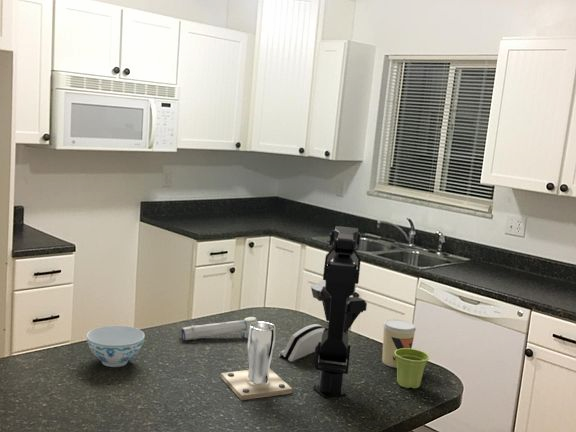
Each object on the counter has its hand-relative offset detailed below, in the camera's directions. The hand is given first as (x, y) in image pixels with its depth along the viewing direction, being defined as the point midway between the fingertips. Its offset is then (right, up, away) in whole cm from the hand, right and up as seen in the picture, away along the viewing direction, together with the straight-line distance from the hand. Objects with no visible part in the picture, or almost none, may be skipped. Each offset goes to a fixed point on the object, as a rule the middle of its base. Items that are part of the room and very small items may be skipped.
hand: (336, 326), depth 178 cm
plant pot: (+19, -16, -3) cm, 25 cm away
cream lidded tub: (+18, -13, +12) cm, 26 cm away
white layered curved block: (-9, -11, +13) cm, 19 cm away
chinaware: (-60, -9, -6) cm, 61 cm away
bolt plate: (-22, -13, -12) cm, 28 cm away
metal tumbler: (-21, -12, -13) cm, 28 cm away
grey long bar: (-34, -7, +20) cm, 41 cm away
